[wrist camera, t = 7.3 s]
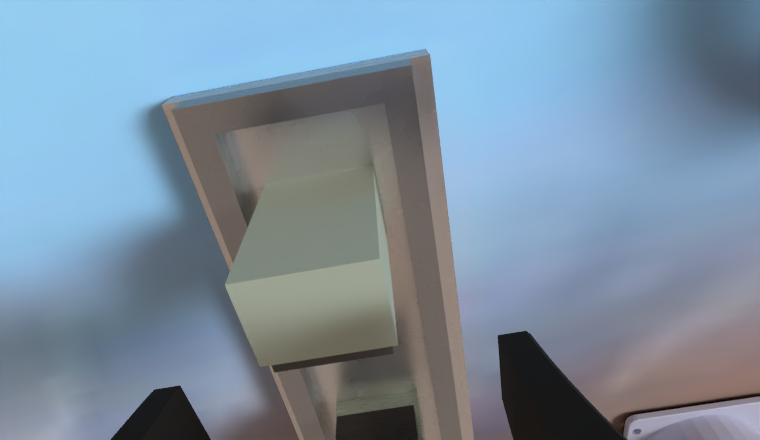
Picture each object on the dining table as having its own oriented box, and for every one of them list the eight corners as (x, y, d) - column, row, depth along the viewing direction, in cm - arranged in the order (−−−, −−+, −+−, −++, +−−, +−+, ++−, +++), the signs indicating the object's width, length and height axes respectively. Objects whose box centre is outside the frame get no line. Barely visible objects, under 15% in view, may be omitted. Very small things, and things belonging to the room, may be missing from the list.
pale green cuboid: (265, 183, 17) (224, 284, 12) (372, 164, 17) (379, 258, 12) (291, 263, 19) (266, 381, 14) (389, 247, 19) (401, 360, 13)
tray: (469, 423, 26) (504, 567, 20) (310, 446, 26) (296, 595, 20) (425, 49, 16) (468, 107, 10) (171, 97, 16) (61, 181, 10)
